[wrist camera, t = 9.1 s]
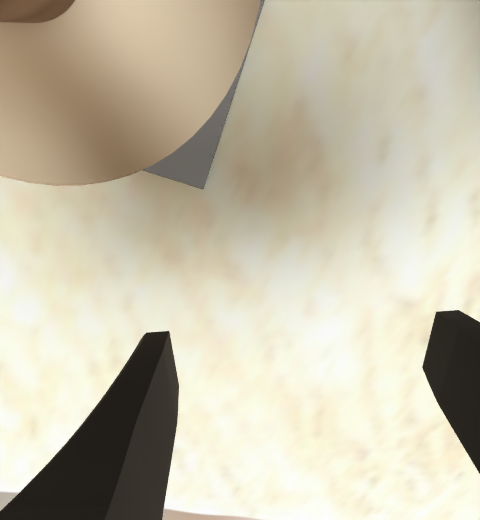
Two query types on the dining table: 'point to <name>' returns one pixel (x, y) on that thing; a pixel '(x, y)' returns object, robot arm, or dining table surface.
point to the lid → (111, 82)
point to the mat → (199, 143)
